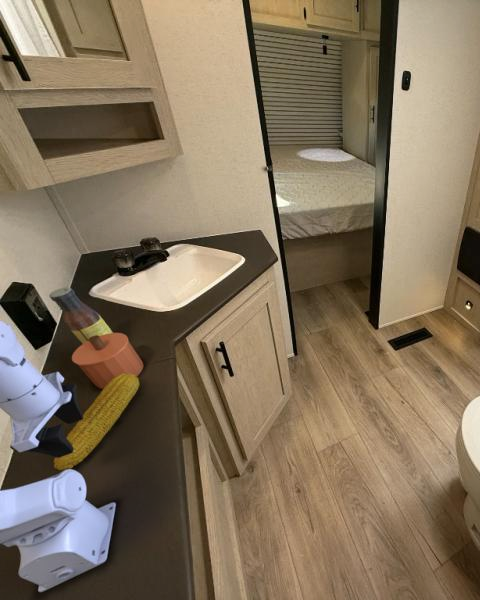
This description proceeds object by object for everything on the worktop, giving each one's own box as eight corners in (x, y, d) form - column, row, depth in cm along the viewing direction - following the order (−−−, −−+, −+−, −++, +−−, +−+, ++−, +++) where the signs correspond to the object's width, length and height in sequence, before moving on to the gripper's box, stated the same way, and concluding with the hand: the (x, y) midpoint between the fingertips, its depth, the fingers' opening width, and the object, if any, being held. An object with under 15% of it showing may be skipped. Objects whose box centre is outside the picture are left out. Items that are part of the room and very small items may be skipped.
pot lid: (126, 357, 73) (117, 345, 71) (69, 374, 69) (57, 361, 67) (132, 331, 81) (124, 318, 78) (80, 344, 77) (70, 331, 74)
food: (124, 386, 76) (111, 370, 73) (148, 385, 77) (136, 368, 73) (54, 477, 60) (33, 461, 56) (86, 474, 60) (67, 458, 56)
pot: (141, 379, 78) (124, 355, 73) (91, 395, 74) (69, 370, 69) (145, 354, 85) (129, 330, 80) (99, 367, 81) (80, 342, 76)
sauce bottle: (126, 341, 89) (86, 282, 77) (116, 357, 84) (71, 297, 72) (99, 345, 88) (54, 285, 76) (87, 362, 83) (37, 300, 71)
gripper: (36, 413, 45) (90, 462, 53) (64, 348, 55) (106, 397, 63) (-35, 435, 42) (34, 482, 50) (9, 362, 52) (60, 411, 60)
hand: (71, 436), depth 56 cm, fingers open, 6 cm apart
